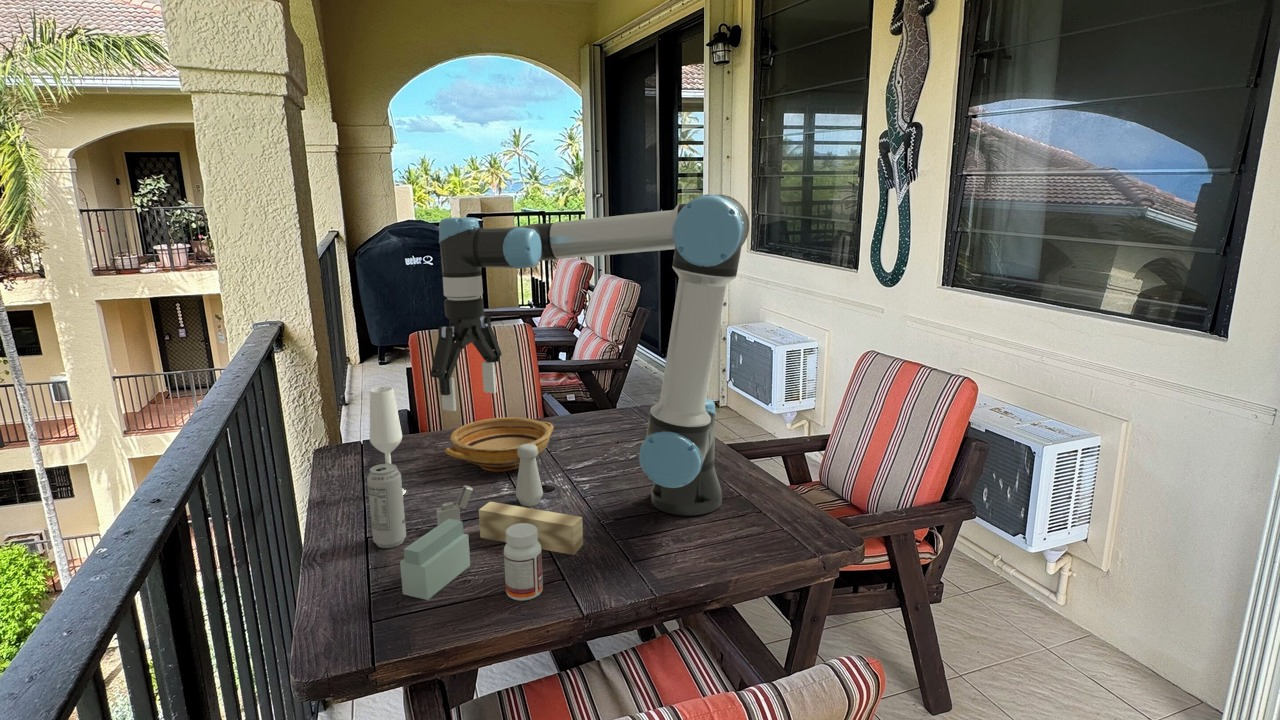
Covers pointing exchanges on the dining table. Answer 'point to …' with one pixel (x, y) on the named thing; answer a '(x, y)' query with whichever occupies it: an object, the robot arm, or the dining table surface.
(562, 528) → the oak bar
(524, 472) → the salt shaker
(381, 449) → the champagne flute
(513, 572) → the pill bottle
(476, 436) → the ceramic bowl
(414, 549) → the ridge block
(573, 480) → the dining table surface
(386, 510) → the energy drink can
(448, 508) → the lighter
